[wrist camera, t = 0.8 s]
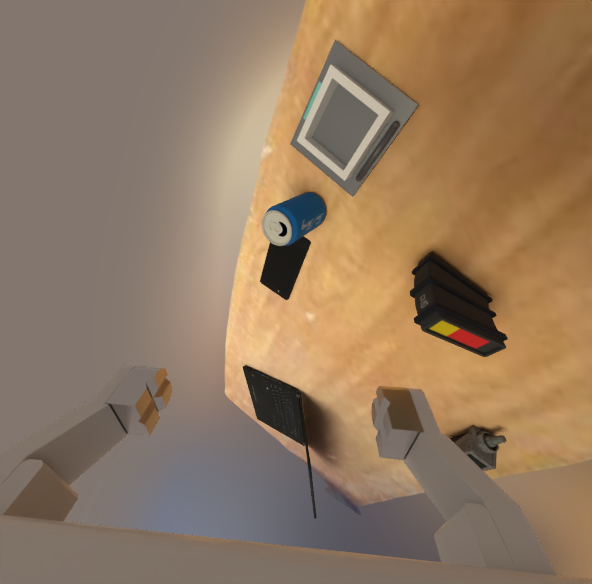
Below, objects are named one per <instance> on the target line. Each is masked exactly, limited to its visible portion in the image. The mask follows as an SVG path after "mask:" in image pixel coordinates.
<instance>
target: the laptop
mask: <svg viewBox="0 0 592 584" xmlns="http://www.w3.org/2000/svg"><path fill="white" fill-rule="evenodd" d="M243 371H244V374H245V377H246V381H247V384H248V388H249V391H250V395H251V398H252V402H253V405H254V409H255V413H256V416H257V419H258V420H260V421H262V422H263V423H265V424H267V425H269V426H270V427H272V428H274V429H276V430H277V431H279V432H281V433H283V434H284V435H286V436H288V437H290V438H291V439H293V440H295V441H296V442H298V443H300V444H302V445H303V446H306V453H307V463H308V471H309V478H310V486H311V496H312V503H313V511H314V518H316V510H315V501H314V492H313V482H312V472H311V464H310V457H309V451H308V443H307V435H306V428H305V420H304V413H303V405H302V396H301V393H300V392H299V391H298V390H296V389H294V388H292V387H290V386H288V385H286V384H284V383H281V382H279V381H277V380H275V379H273V378H271V377H268V376H266V375H264V374H262V373H260V372H257V371H255V370H253V369H251V368H248V367H246V366H243ZM300 404H301V406H300ZM301 412H302V413H301Z"/></svg>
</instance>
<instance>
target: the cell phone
mask: <svg viewBox="0 0 592 584" xmlns="http://www.w3.org/2000/svg"><path fill="white" fill-rule="evenodd" d="M310 244H311V242H310V241H309V240H308V239H307V238H305V237H301V238H300V239H298V240H297V241H295V242H294V243H292V244H290V245H287V246H277V245H274V244H272V243H271V242H270V245H269V249H268V252H267V256H266V260H265V264H264V268H263V271H262V275H261V279H260V282H261V283H262V284H263V285H265V286H266V287H268V288H269V289H271V290H272V291H274V292H275V293H276V294H278V295H279V296H281V297H282V298H284V299H285V300H288V299H289V297H290V294H291V292H292V289H293V287H294V284H295V282H296V279H297V277H298V274H299V272H300V269H301V267H302V264H303V261H304V259H305V256H306V254H307V251H308V249H309V246H310Z"/></svg>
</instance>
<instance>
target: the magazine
mask: <svg viewBox="0 0 592 584" xmlns="http://www.w3.org/2000/svg"><path fill="white" fill-rule="evenodd" d="M412 274H413V275H415V279H414V288H413V289H412V290H411V291H410V296H412V297H413V298H415V305H416V310H417V313H418V316H416V317H415V318H414V322H415V323H416V324H418V325H421V329H422V331H424V332H426V333H428V334H431V335H433V336H436V337H438V338H440V339H443V340H445V341H447V342H450V343H452V344H454V345H457V346H459V347H461V348H464V349H466V350H468V351H471V352H473V353H475V354H478V355H480V356H483V357H487V356H489V355H492V354H494V353H496V352H498V351H501V350H503V349H505V348H506V346H505V344H504V342H503V341H505V340H507V339H508V338H507V337H506V335H505V334H504V333H502V332H500V331H498V330H497V328H496V326H495V324H494V322H493V319H492V318H493V317H495V316H496V313H495V312H493V311H491V310H490V309H489V306H488V303H490V302H492V298H490V297H489V296H488V295H487V293H485V292H484V291H483V290H482V289H480V288H479V287H478V286H476V285H475V284H474V283H472V282H471V281H470V280H469V279H467V278H466V277H465V276H463V275H462V274H461V273H459V272H458V271H457V270H455V269H454V268H453V267H452V266H450V265H449V264H448V263H446V262H445V261H444V260H442V259H441V258H440V257H439V256H437V255H436V254H435V253H433V252H431V253H429V254H428V255H427V256H426V257H425V258H424V259H423V260H422V261H420V262H419V264H418V266H417V267H416V268H414V269H413V270H412Z"/></svg>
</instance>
